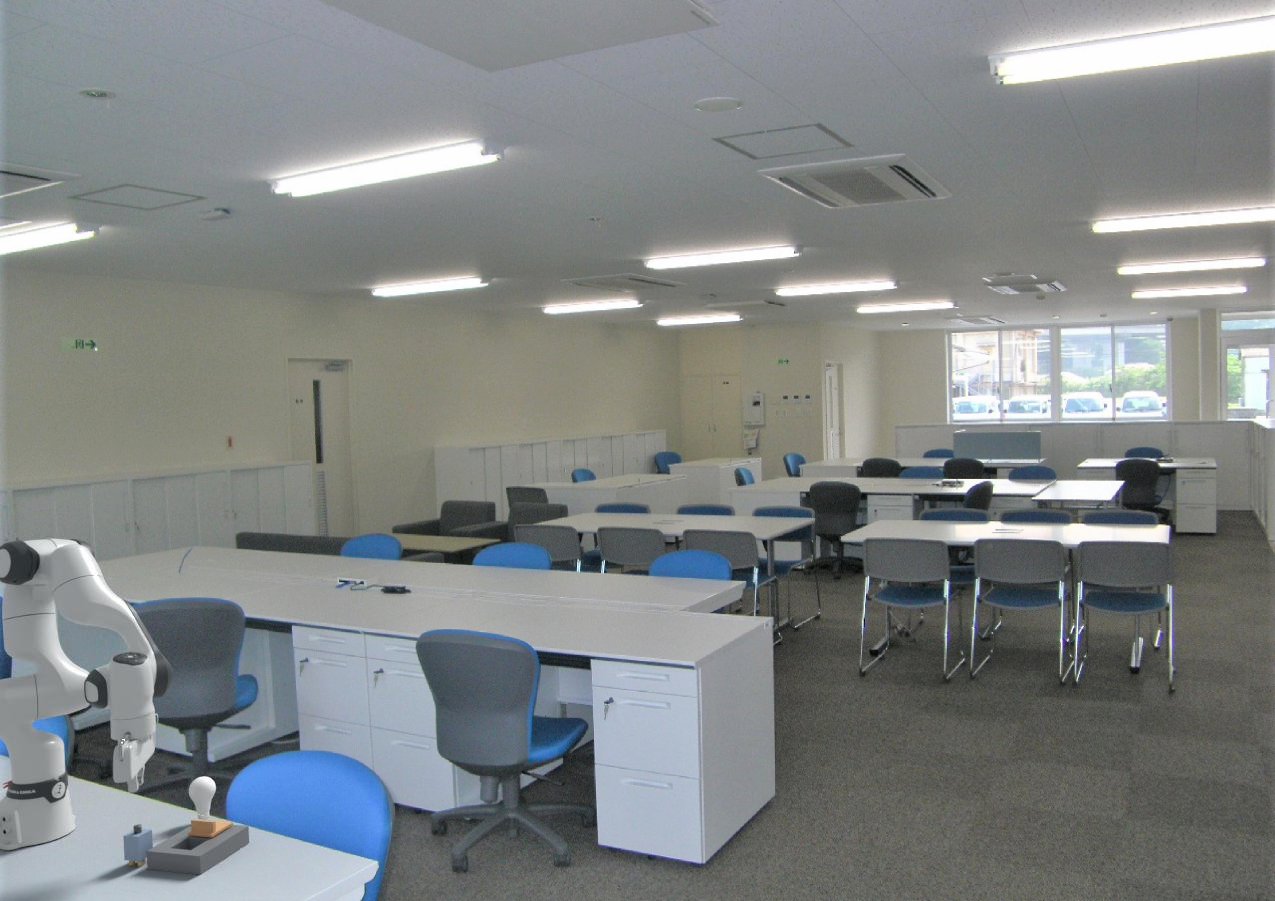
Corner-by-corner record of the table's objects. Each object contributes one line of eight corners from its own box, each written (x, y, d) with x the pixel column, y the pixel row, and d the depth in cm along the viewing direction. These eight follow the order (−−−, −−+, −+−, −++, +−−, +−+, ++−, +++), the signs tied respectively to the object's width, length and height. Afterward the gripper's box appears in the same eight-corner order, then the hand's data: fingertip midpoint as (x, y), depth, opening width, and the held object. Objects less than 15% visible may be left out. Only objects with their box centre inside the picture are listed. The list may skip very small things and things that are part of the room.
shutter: (187, 835, 216) (186, 821, 216) (208, 822, 223) (208, 809, 223) (212, 837, 214) (211, 823, 214) (232, 824, 221) (232, 811, 221)
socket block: (147, 869, 209) (146, 851, 209) (198, 838, 225) (197, 821, 224) (200, 874, 205) (200, 856, 205) (249, 843, 221) (248, 825, 221)
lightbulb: (206, 826, 231) (204, 782, 231) (184, 825, 232) (182, 781, 232) (222, 816, 237) (220, 773, 237) (200, 815, 238) (198, 772, 238)
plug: (124, 866, 211) (123, 828, 210) (138, 858, 215) (136, 821, 214) (139, 868, 210) (137, 830, 209) (153, 860, 213) (151, 822, 213)
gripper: (136, 739, 202) (138, 803, 203) (159, 712, 222) (162, 771, 222) (103, 742, 201) (106, 807, 201) (130, 715, 221) (133, 774, 221)
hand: (136, 788), depth 212 cm, fingers open, 2 cm apart
